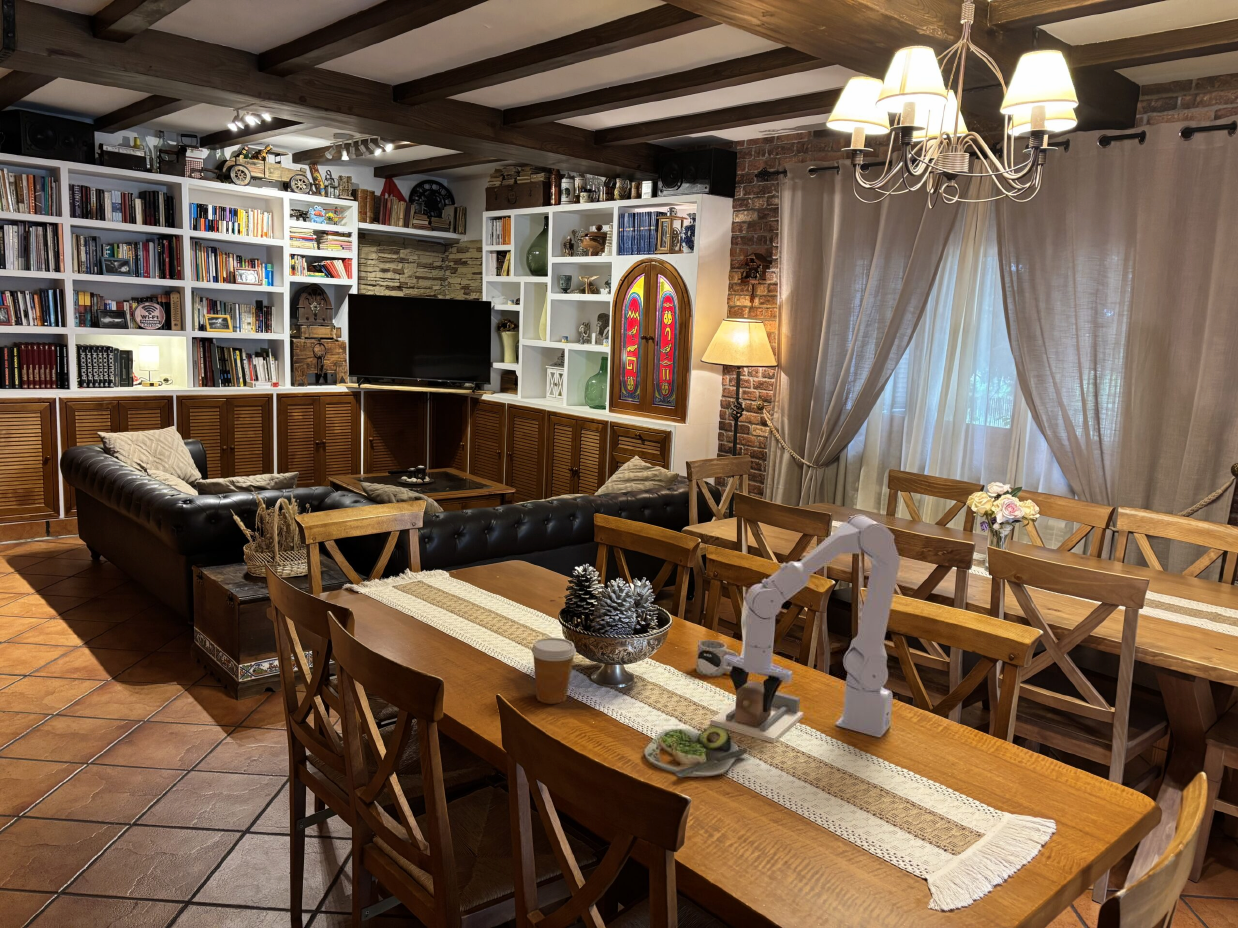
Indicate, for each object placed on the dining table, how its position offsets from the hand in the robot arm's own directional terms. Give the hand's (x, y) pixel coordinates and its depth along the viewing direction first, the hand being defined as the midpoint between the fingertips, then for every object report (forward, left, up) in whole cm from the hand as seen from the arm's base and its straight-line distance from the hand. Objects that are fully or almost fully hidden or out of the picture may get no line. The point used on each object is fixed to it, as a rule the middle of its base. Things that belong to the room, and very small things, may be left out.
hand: (753, 706), depth 188 cm
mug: (+19, -23, -4) cm, 30 cm away
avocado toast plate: (+3, +20, -4) cm, 21 cm away
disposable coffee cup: (+40, +15, -4) cm, 43 cm away
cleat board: (0, -3, -4) cm, 5 cm away
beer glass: (+16, -37, -4) cm, 40 cm away
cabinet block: (0, 0, -2) cm, 2 cm away
